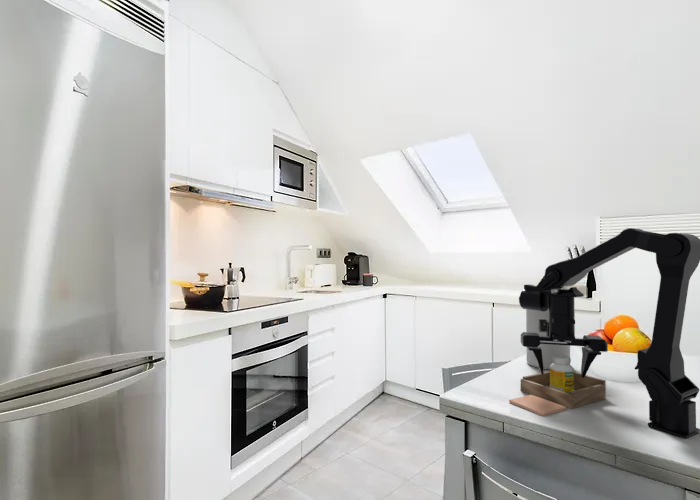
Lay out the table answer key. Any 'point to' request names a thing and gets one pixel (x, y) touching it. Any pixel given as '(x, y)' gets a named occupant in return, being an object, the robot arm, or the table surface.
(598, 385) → the brown wooden tray
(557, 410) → the terracotta tile
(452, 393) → the table surface
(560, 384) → the supplement bottle
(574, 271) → the robot arm
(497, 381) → the table surface
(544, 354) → the cylinder vase
